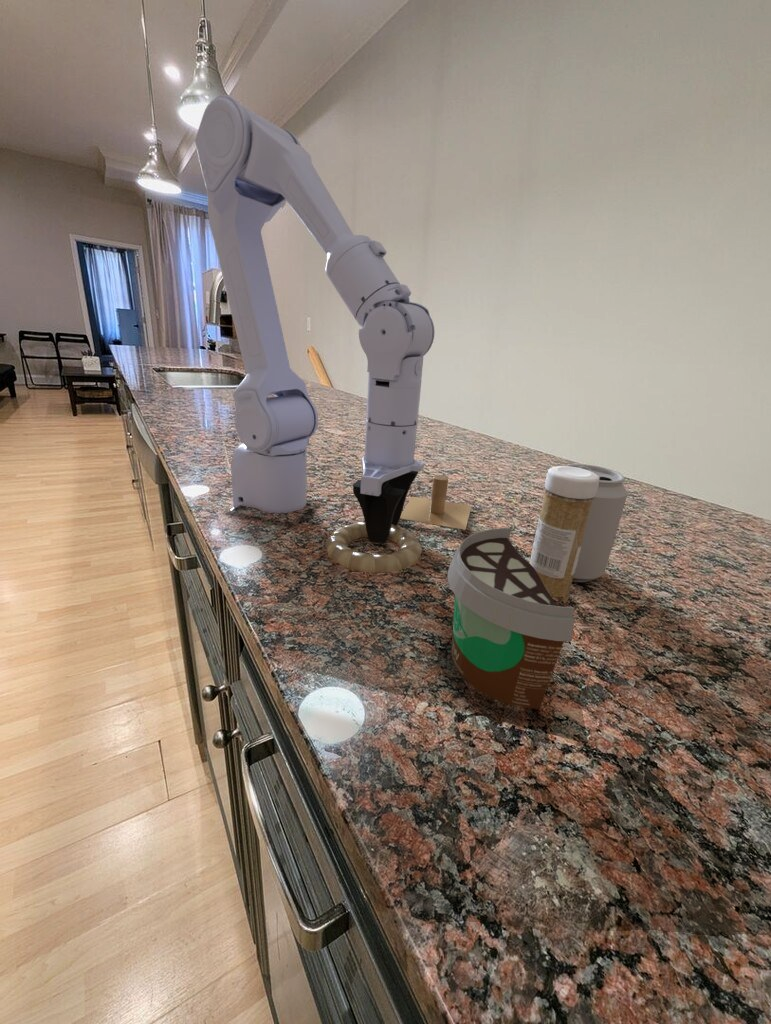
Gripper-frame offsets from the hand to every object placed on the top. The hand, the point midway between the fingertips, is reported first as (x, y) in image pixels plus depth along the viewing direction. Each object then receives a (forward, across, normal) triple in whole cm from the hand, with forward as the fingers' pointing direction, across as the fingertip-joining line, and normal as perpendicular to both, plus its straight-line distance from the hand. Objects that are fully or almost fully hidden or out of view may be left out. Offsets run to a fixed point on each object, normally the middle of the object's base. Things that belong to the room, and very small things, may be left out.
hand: (383, 531), depth 55 cm
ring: (0, -4, 0) cm, 4 cm away
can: (+2, +2, -22) cm, 22 cm away
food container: (+2, -19, -13) cm, 23 cm away
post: (+1, +10, -5) cm, 11 cm away
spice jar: (+2, -5, -19) cm, 20 cm away
